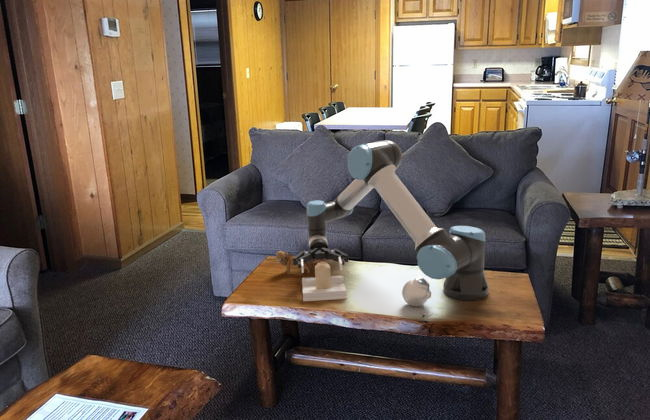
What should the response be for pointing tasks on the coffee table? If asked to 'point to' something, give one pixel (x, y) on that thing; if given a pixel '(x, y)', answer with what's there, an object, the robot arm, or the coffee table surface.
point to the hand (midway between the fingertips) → (321, 268)
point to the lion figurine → (289, 261)
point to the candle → (323, 276)
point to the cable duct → (323, 294)
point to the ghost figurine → (416, 292)
